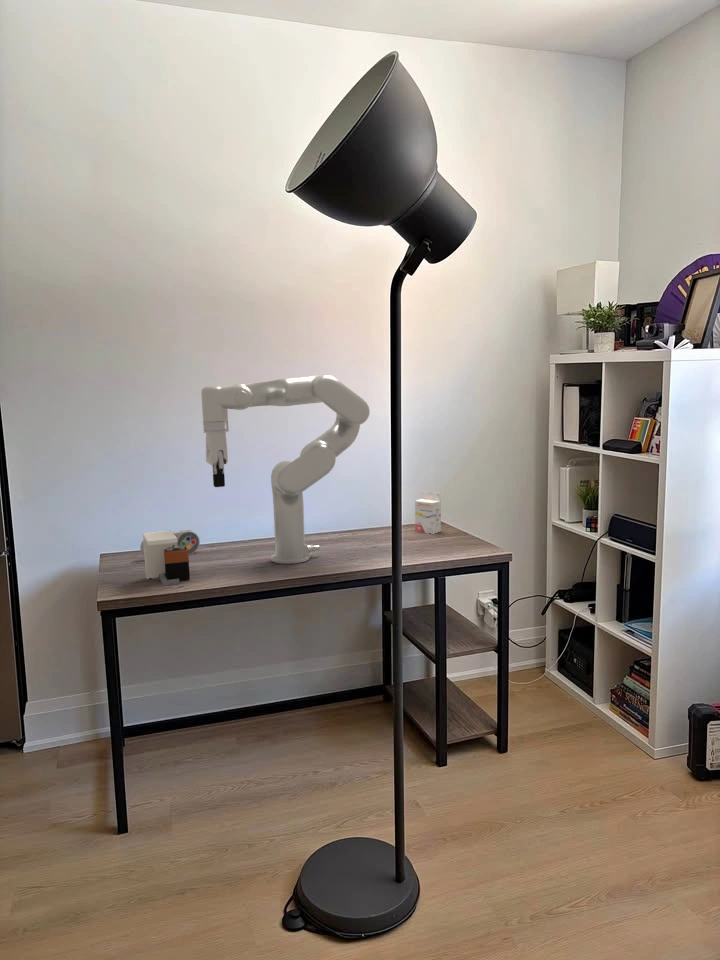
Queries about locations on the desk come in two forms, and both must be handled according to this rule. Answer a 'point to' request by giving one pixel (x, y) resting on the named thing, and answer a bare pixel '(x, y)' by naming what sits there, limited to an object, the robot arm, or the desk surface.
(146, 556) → the overhang shelf
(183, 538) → the game controller
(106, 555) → the desk surface
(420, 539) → the desk surface
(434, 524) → the ink cartridge box
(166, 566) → the battery
